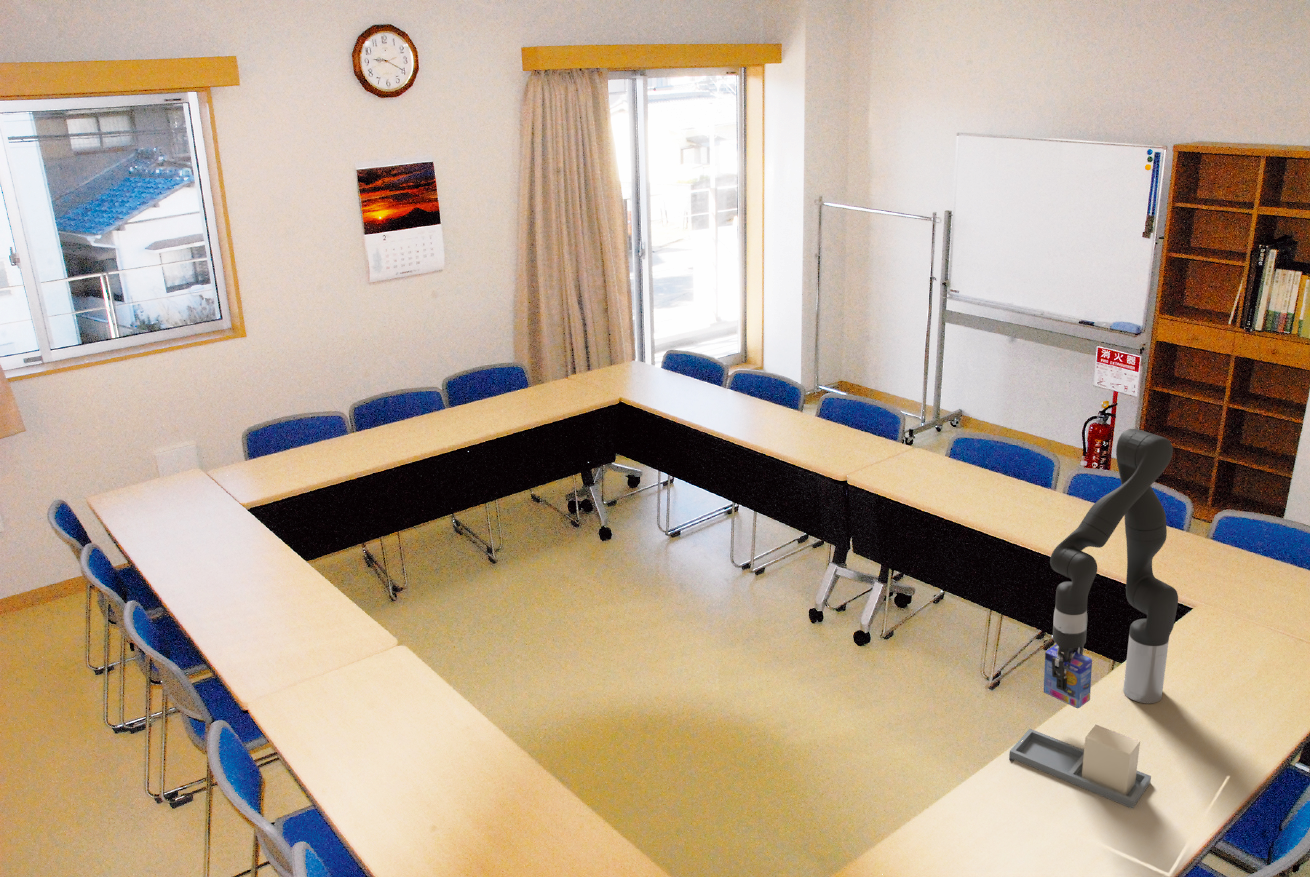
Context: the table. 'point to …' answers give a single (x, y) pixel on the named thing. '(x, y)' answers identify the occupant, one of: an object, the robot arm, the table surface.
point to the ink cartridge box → (1069, 679)
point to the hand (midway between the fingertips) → (1066, 682)
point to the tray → (1069, 765)
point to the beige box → (1110, 759)
